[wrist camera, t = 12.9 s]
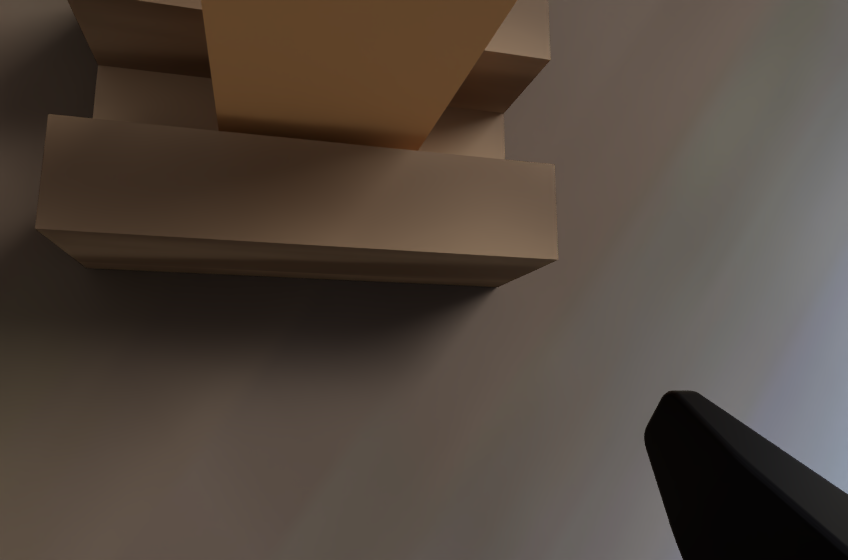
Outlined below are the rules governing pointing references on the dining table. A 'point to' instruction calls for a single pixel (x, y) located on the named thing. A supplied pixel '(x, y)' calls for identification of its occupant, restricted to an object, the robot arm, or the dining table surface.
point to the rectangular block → (343, 65)
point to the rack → (288, 171)
